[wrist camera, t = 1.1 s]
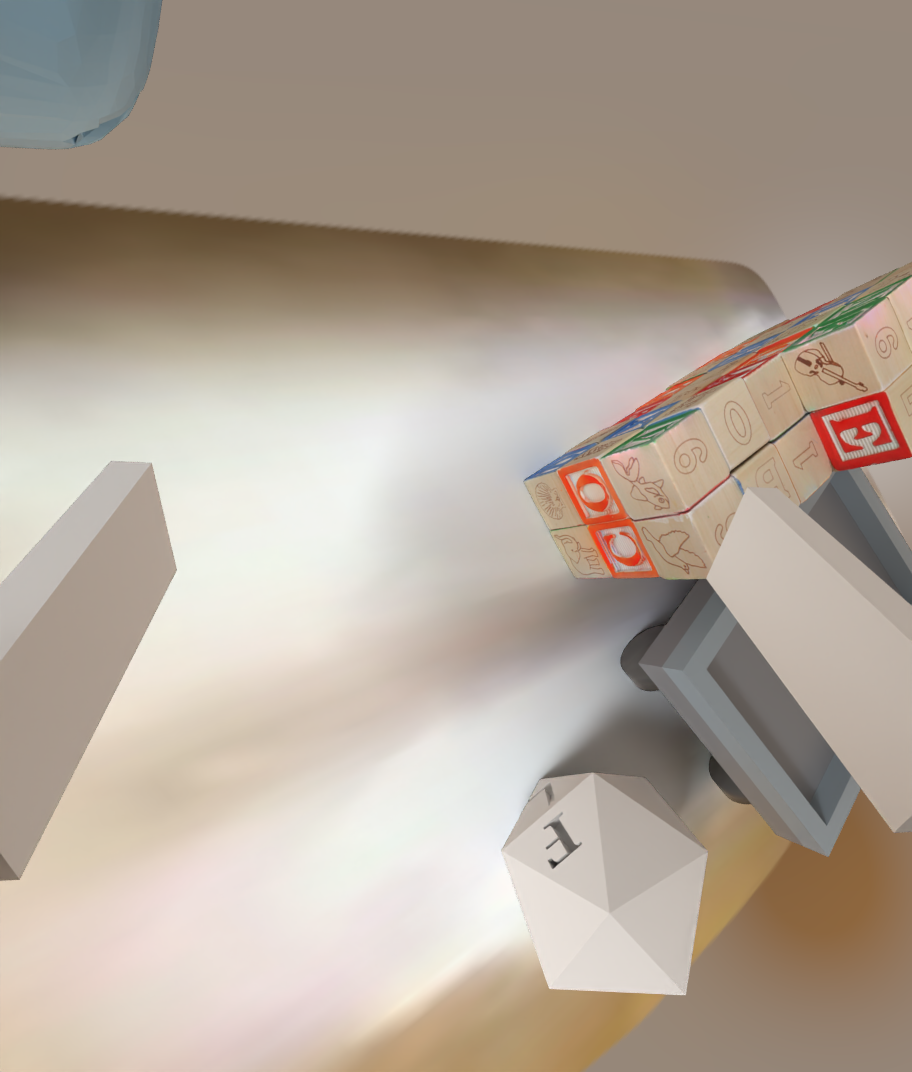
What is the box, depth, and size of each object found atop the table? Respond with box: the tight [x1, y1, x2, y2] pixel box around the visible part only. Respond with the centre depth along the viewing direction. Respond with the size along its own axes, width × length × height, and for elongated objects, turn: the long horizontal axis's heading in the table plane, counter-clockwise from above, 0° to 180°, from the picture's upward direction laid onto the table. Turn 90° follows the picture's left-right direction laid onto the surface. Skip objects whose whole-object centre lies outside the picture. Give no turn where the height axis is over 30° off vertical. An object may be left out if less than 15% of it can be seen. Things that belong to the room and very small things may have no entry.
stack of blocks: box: [524, 262, 912, 580], centre depth 28 cm, size 21×6×12 cm, turn 122°
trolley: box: [621, 467, 912, 857], centre depth 31 cm, size 13×17×6 cm
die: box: [501, 772, 708, 995], centre depth 24 cm, size 8×9×10 cm
